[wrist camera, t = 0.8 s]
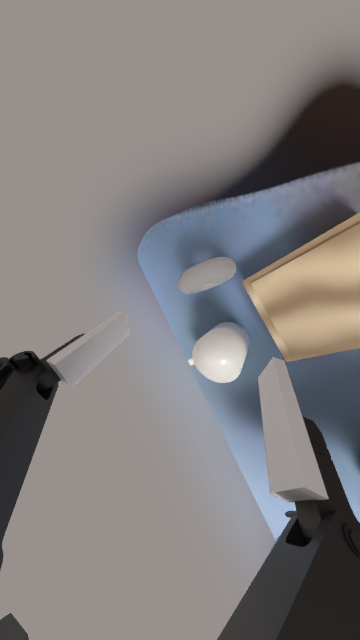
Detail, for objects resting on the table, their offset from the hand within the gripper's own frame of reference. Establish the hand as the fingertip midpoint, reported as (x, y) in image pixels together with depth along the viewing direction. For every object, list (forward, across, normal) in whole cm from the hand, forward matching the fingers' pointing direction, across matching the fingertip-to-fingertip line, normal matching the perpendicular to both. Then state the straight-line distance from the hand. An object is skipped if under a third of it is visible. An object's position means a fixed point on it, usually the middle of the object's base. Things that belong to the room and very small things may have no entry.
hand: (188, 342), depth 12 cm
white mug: (+15, -5, +12) cm, 20 cm away
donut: (+20, 0, 0) cm, 20 cm away
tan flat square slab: (+16, -14, -2) cm, 21 cm away
